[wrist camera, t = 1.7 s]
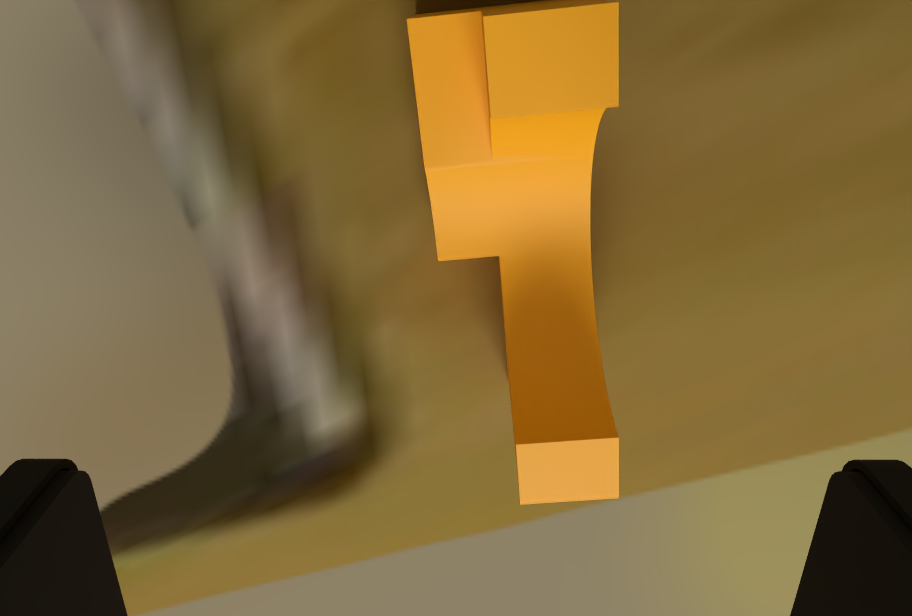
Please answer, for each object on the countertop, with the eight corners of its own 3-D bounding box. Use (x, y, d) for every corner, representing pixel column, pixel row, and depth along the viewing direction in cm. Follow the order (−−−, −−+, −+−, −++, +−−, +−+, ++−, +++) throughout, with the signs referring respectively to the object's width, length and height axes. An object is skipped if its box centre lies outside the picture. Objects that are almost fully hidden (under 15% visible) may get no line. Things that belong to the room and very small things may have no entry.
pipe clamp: (416, 14, 19) (392, 25, 13) (572, -3, 19) (618, 1, 13) (458, 382, 24) (454, 508, 18) (582, 373, 24) (618, 498, 18)
